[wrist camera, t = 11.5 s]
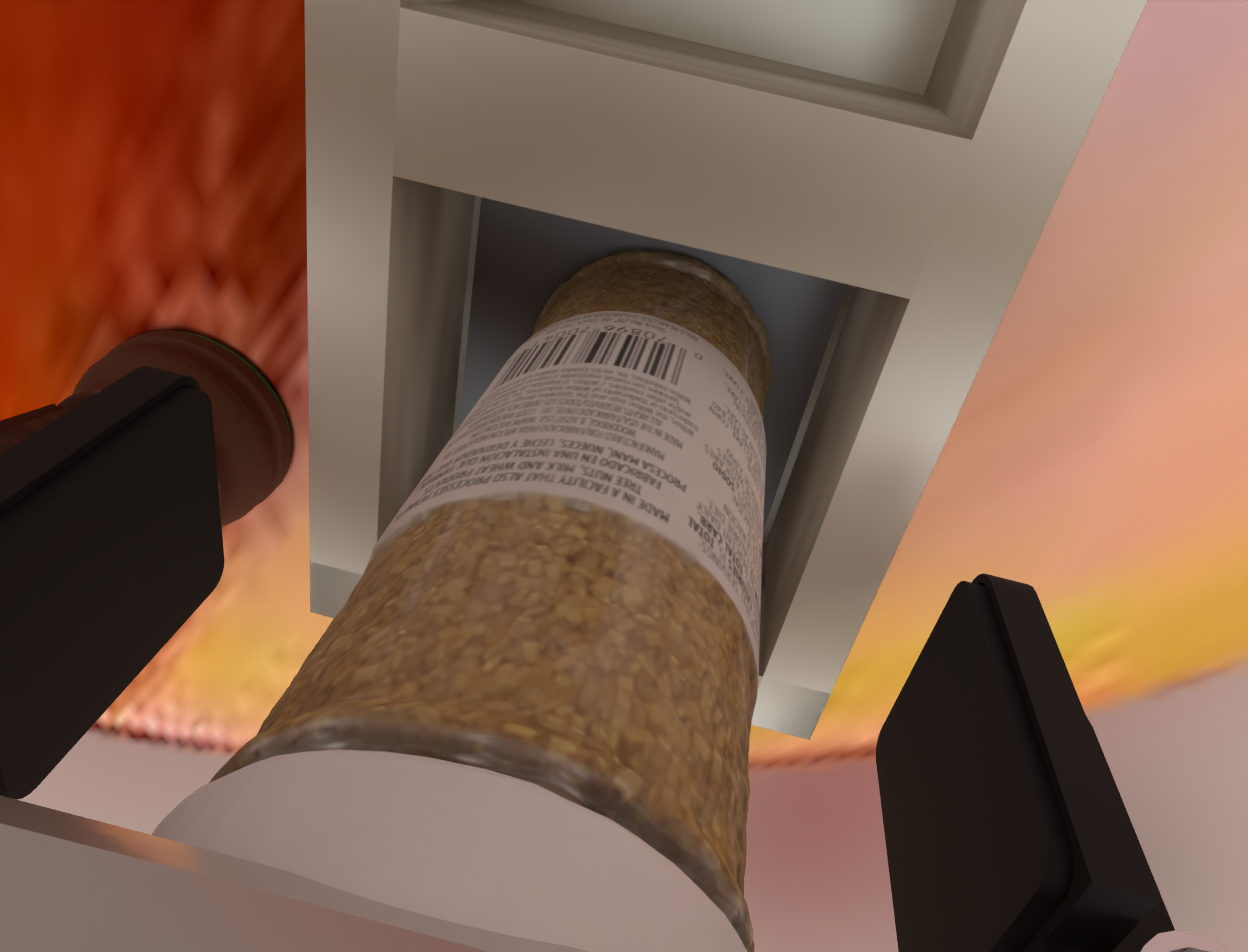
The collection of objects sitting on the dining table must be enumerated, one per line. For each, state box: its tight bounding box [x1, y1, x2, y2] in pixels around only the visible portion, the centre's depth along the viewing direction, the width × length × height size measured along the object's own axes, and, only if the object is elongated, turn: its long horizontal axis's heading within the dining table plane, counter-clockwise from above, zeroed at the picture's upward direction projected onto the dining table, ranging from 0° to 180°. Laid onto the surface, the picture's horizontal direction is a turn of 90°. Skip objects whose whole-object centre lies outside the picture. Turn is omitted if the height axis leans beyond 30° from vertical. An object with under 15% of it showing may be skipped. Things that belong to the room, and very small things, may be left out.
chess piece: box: [0, 330, 292, 527], centre depth 16 cm, size 5×5×10 cm
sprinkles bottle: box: [152, 250, 772, 952], centre depth 10 cm, size 5×5×13 cm
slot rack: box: [305, 0, 1147, 740], centre depth 13 cm, size 20×12×5 cm, turn 169°
